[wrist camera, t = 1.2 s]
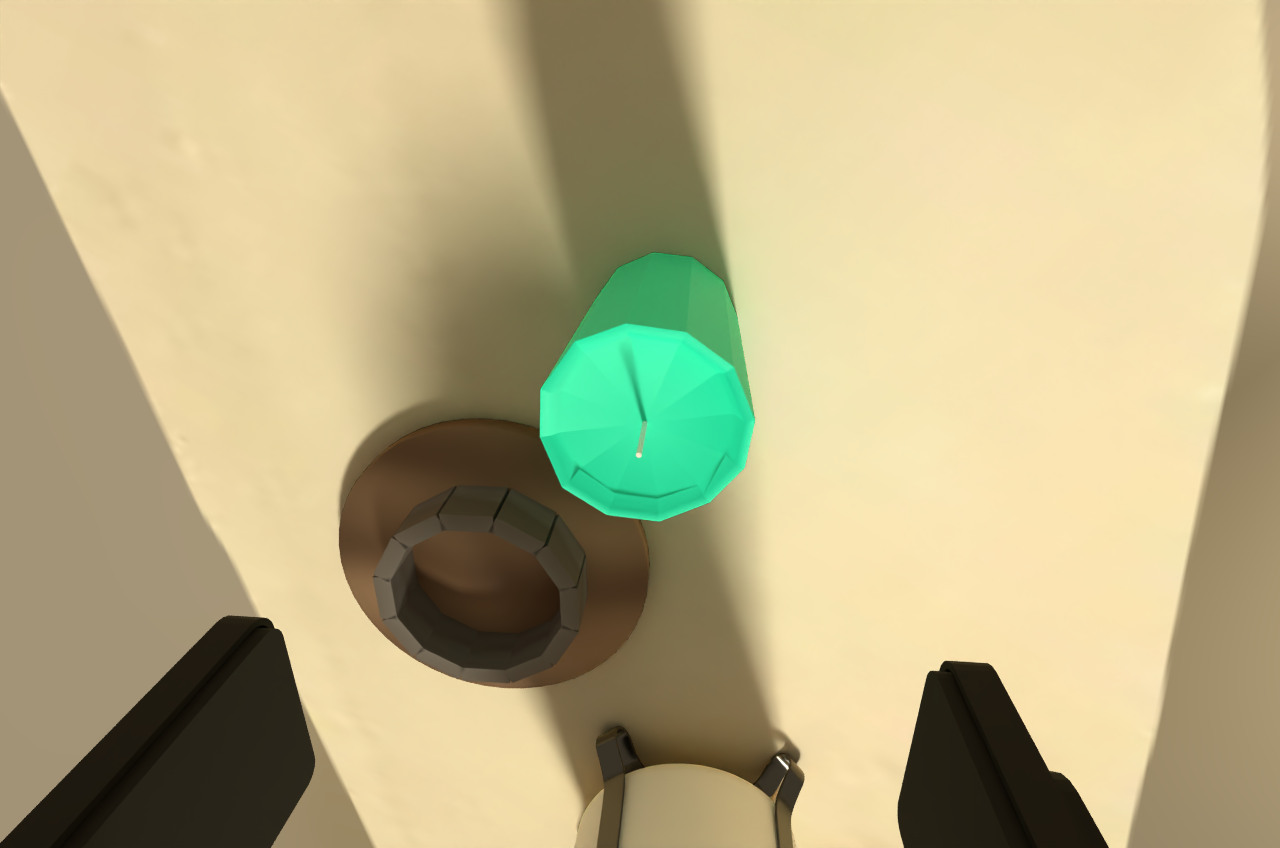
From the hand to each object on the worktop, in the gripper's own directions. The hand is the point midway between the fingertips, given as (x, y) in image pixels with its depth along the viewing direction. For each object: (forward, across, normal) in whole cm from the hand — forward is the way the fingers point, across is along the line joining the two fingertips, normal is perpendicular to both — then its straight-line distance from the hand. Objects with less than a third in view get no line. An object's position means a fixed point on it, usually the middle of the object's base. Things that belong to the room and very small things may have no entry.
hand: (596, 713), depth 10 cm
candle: (+20, 0, 0) cm, 20 cm away
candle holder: (+20, +8, +12) cm, 25 cm away
